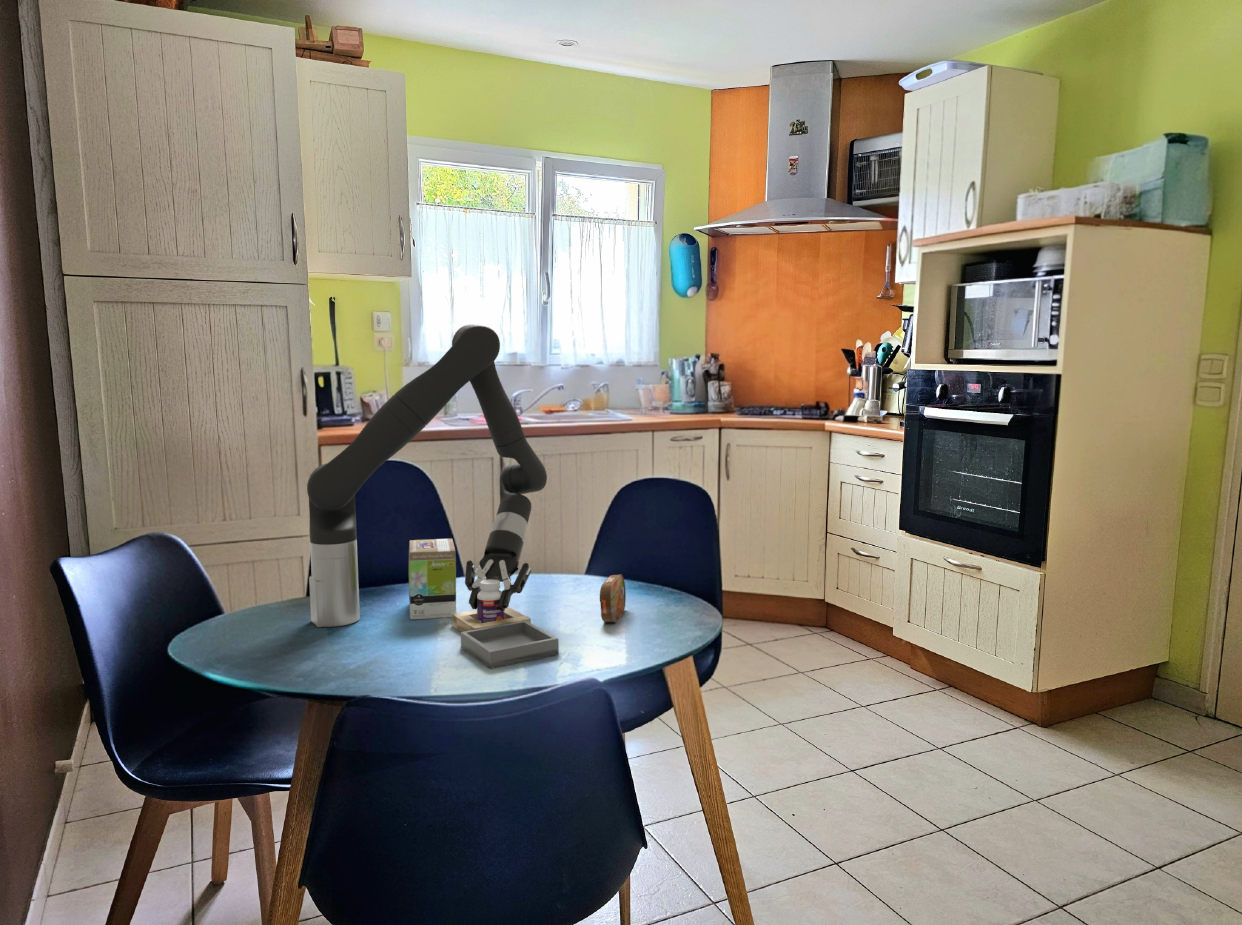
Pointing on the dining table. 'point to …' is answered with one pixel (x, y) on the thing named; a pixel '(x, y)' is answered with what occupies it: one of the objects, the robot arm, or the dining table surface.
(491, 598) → the pill bottle
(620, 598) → the tin
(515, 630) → the charcoal tray
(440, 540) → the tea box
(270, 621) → the dining table surface
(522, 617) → the oak collar
